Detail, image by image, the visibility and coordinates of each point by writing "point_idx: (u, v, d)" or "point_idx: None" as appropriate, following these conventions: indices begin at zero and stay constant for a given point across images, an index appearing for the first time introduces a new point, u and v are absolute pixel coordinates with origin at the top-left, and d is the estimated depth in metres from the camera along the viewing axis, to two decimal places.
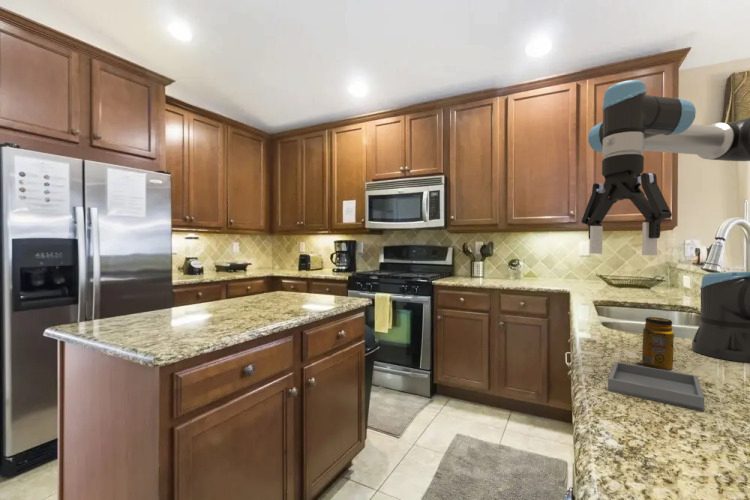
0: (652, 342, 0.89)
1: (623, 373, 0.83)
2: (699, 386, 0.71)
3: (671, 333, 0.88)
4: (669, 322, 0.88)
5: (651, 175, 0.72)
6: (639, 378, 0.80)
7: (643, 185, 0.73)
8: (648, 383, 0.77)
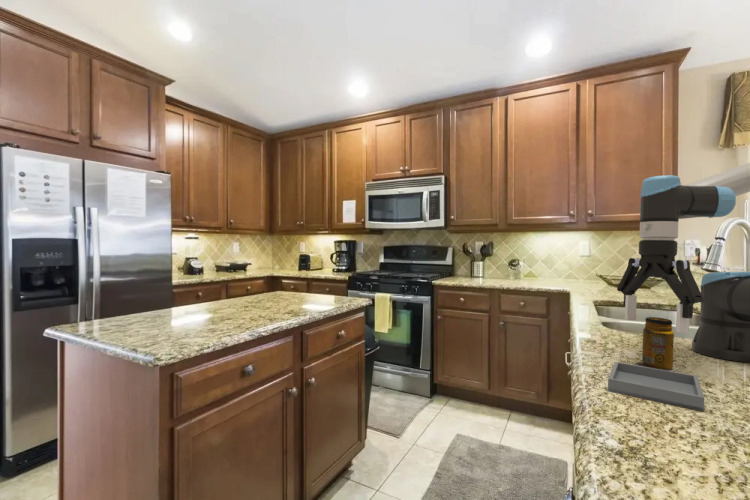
0: (652, 342, 0.89)
1: (623, 373, 0.83)
2: (699, 386, 0.71)
3: (671, 333, 0.88)
4: (669, 322, 0.88)
5: (685, 262, 0.83)
6: (639, 378, 0.80)
7: (678, 271, 0.83)
8: (648, 383, 0.77)
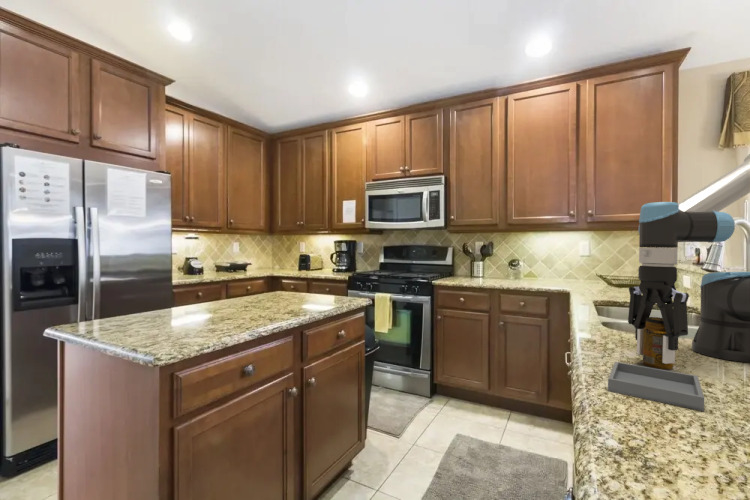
0: (653, 342, 0.89)
1: (623, 373, 0.83)
2: (699, 386, 0.71)
3: None
4: None
5: (684, 296, 0.83)
6: (639, 378, 0.80)
7: (674, 302, 0.84)
8: (648, 383, 0.77)
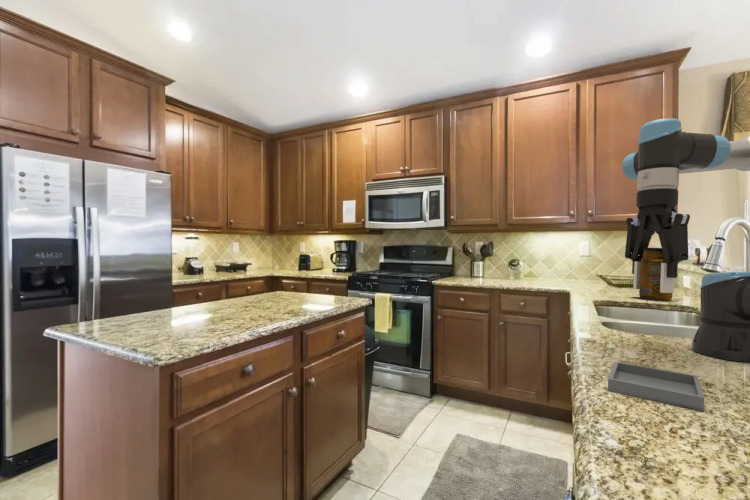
0: (650, 271, 0.82)
1: (623, 373, 0.83)
2: (699, 386, 0.71)
3: None
4: None
5: (685, 217, 0.76)
6: (639, 378, 0.80)
7: (674, 225, 0.78)
8: (648, 383, 0.77)
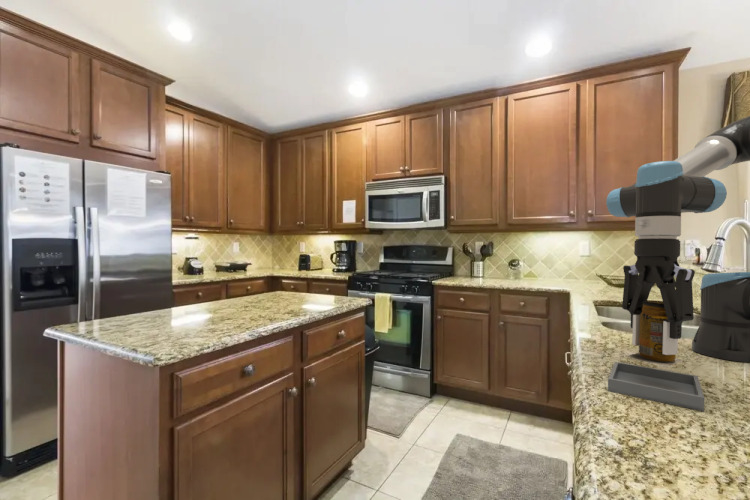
0: (651, 329, 0.74)
1: (623, 373, 0.83)
2: (699, 386, 0.71)
3: None
4: None
5: (689, 273, 0.69)
6: (639, 378, 0.80)
7: (677, 281, 0.70)
8: (648, 383, 0.77)
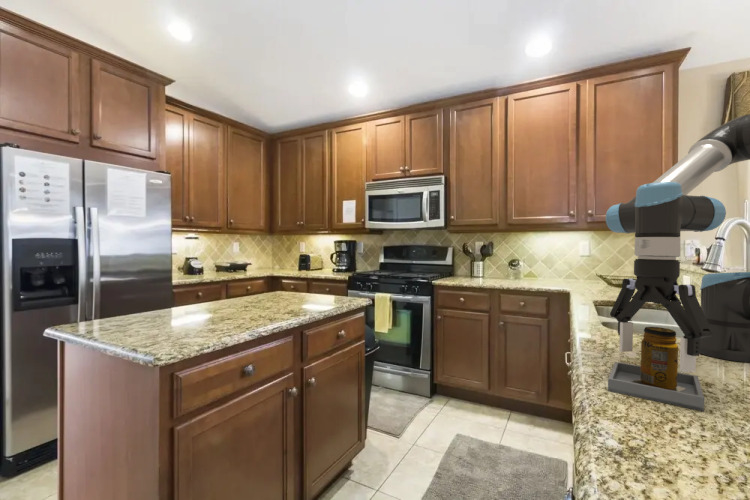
0: (652, 357, 0.74)
1: (623, 373, 0.83)
2: (699, 386, 0.71)
3: (674, 347, 0.73)
4: (672, 333, 0.73)
5: (690, 287, 0.69)
6: (639, 378, 0.80)
7: (681, 297, 0.69)
8: None
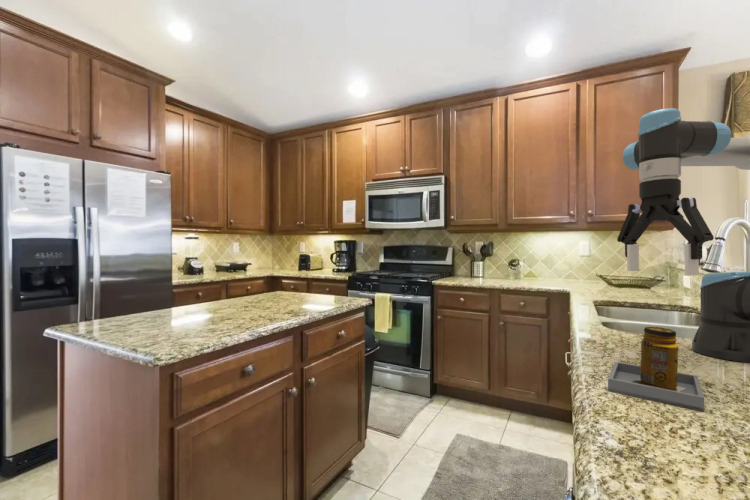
0: (652, 357, 0.74)
1: (623, 373, 0.83)
2: (699, 386, 0.71)
3: (675, 347, 0.73)
4: (672, 333, 0.73)
5: (691, 199, 0.77)
6: (639, 378, 0.80)
7: (684, 209, 0.77)
8: None
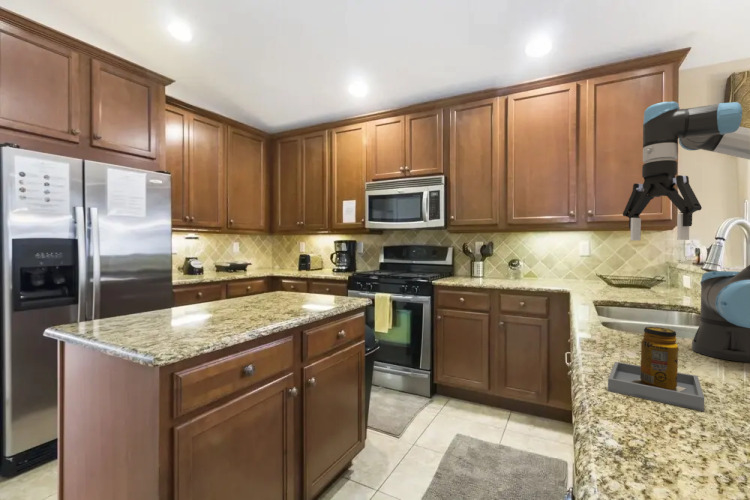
0: (652, 357, 0.74)
1: (623, 373, 0.83)
2: (699, 386, 0.71)
3: (675, 347, 0.73)
4: (672, 333, 0.73)
5: (684, 177, 0.92)
6: (639, 378, 0.80)
7: (678, 185, 0.93)
8: None
